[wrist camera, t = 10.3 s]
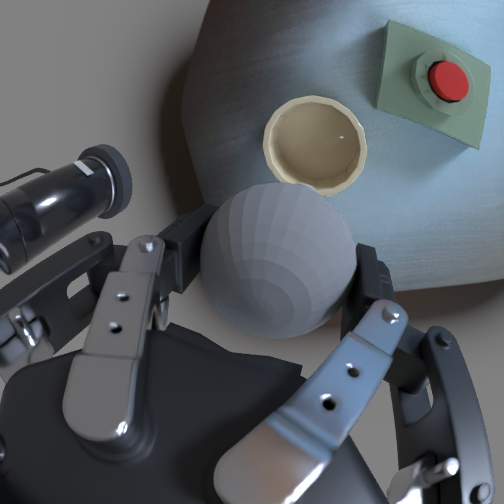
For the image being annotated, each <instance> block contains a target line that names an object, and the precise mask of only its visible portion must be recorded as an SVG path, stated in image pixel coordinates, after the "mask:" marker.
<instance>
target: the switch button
mask: <svg viewBox="0 0 504 504" xmlns="http://www.w3.org/2000/svg"><path fill="white" fill-rule="evenodd" d="M429 81H430V84H431V87H432V88H433V90H434V91H435V93H436V94H437V95H439V96H440V97H441V98H443V99H446V100H461V99H463V98H464V97H465V96H466V95H467V93H468V90H469V83H468V79H467V76H466V74H465V73H464V71H463V70H462V69H461V68H460V67H459V66H458V65H456V64H454V63H452V62H448V61H445V62H442V63H439V64H437V65H435V66H433V67H432V68H431V70H430V73H429Z"/></svg>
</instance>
